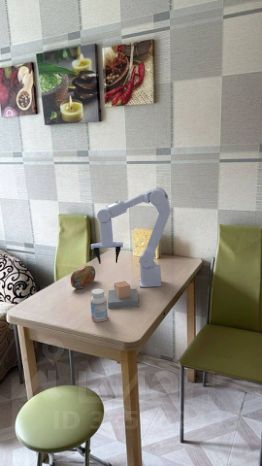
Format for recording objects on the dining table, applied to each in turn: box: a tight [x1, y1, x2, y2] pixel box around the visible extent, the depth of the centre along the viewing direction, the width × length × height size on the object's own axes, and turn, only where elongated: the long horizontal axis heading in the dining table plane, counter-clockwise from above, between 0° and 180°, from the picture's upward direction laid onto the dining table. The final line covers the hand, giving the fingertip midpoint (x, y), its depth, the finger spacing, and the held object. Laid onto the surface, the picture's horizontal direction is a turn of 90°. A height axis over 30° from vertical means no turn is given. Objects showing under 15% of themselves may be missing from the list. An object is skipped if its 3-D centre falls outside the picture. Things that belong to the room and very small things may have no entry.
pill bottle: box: [89, 288, 109, 323], centre depth 132 cm, size 6×6×11 cm
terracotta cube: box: [113, 280, 131, 299], centre depth 146 cm, size 5×5×5 cm
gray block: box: [107, 288, 139, 309], centre depth 147 cm, size 12×12×3 cm
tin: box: [70, 265, 96, 290], centre depth 164 cm, size 15×3×8 cm, turn 147°
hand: (108, 262), depth 164 cm, fingers open, 7 cm apart
